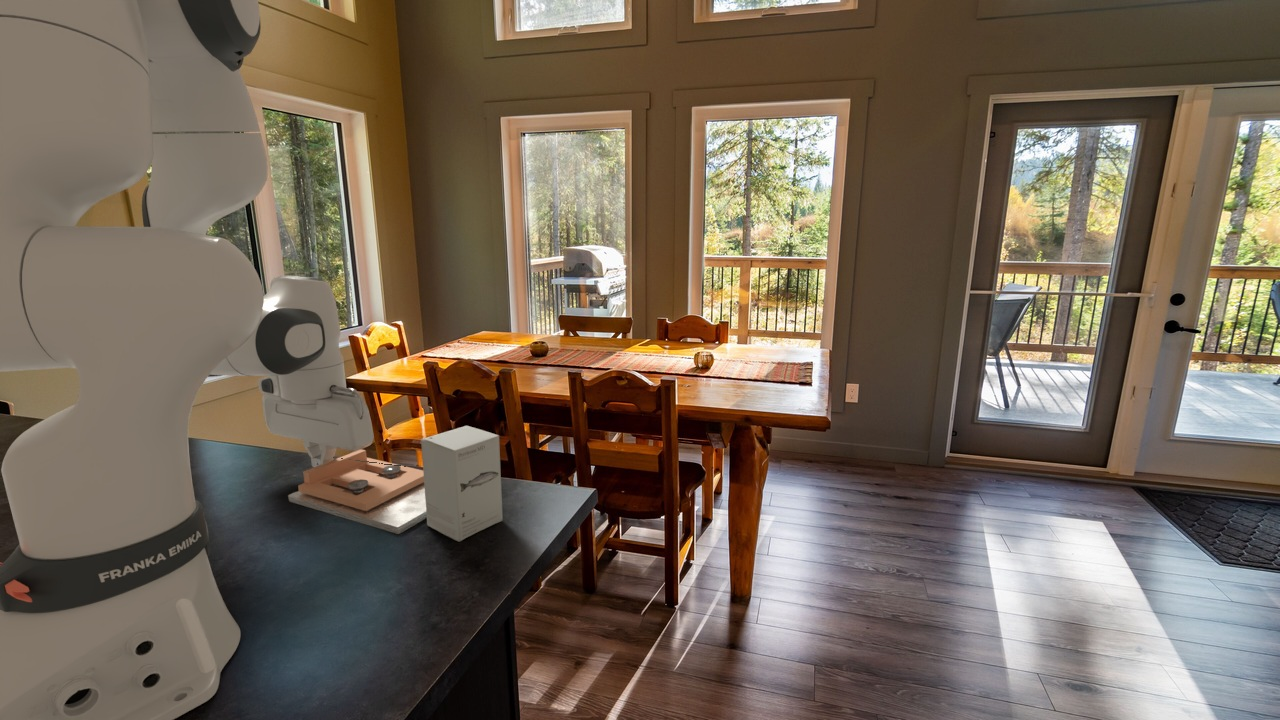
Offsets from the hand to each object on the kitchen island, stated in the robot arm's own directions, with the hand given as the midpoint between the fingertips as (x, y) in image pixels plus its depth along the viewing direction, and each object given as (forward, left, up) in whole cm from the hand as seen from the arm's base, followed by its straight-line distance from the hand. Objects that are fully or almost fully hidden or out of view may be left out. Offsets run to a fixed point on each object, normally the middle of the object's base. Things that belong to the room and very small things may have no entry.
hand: (323, 467), depth 90 cm
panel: (0, -9, -1) cm, 9 cm away
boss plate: (0, -12, -3) cm, 13 cm away
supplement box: (-1, -29, -3) cm, 29 cm away
